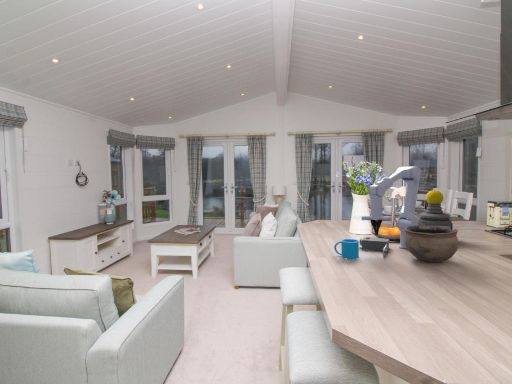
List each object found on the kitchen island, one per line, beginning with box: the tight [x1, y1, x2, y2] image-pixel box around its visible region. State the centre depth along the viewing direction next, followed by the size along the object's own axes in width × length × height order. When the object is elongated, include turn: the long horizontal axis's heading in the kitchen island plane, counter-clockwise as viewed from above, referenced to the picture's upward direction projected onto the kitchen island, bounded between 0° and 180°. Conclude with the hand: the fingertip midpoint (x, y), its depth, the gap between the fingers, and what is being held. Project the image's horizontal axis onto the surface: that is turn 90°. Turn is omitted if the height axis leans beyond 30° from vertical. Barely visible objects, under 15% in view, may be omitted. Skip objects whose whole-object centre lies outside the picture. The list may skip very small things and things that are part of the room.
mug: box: [333, 238, 360, 260], centre depth 156 cm, size 12×8×8 cm
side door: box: [382, 244, 389, 257], centre depth 159 cm, size 13×2×4 cm, turn 150°
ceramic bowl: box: [404, 225, 459, 263], centre depth 146 cm, size 22×22×15 cm
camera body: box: [359, 236, 390, 252], centre depth 171 cm, size 15×8×6 cm, turn 63°
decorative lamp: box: [418, 189, 454, 231], centre depth 186 cm, size 19×19×30 cm
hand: (376, 234), depth 162 cm, fingers closed
